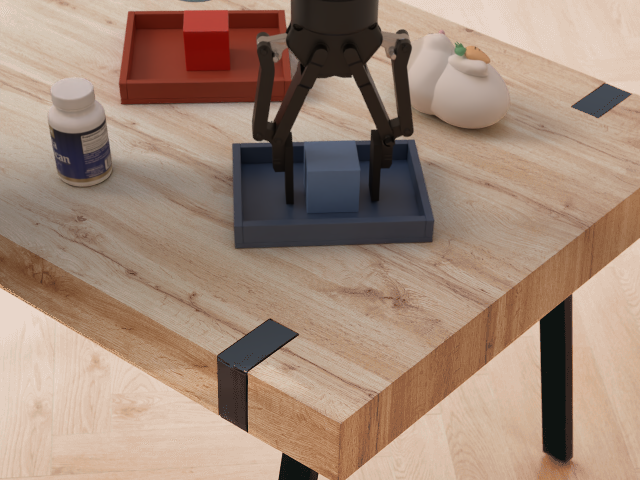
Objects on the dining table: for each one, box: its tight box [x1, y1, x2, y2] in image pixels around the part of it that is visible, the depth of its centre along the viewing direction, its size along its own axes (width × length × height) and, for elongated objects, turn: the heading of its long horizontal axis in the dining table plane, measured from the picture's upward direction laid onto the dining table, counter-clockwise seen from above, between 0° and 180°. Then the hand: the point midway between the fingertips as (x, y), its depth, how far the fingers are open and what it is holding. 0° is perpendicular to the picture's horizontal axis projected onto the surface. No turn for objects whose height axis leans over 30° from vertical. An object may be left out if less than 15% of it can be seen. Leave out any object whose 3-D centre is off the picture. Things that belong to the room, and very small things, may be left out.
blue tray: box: [231, 138, 435, 249], centre depth 105 cm, size 19×14×3 cm
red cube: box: [183, 9, 230, 71], centre depth 123 cm, size 5×5×5 cm
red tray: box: [118, 9, 293, 105], centre depth 124 cm, size 19×17×3 cm
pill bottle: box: [47, 76, 113, 188], centre depth 104 cm, size 5×5×10 cm
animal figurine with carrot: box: [407, 29, 511, 130], centre depth 116 cm, size 10×8×15 cm
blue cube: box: [303, 139, 360, 213], centre depth 104 cm, size 5×5×5 cm
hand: (331, 194), depth 105 cm, fingers open, 8 cm apart
